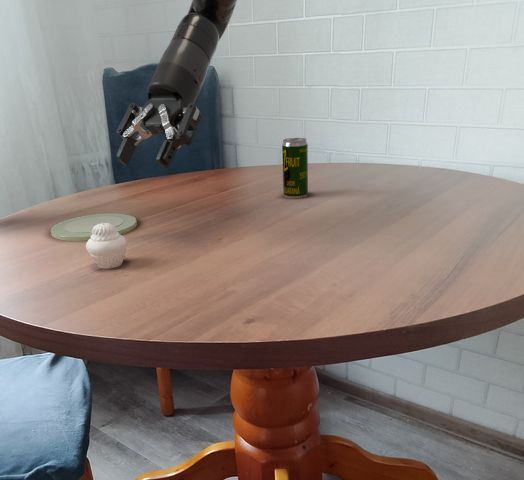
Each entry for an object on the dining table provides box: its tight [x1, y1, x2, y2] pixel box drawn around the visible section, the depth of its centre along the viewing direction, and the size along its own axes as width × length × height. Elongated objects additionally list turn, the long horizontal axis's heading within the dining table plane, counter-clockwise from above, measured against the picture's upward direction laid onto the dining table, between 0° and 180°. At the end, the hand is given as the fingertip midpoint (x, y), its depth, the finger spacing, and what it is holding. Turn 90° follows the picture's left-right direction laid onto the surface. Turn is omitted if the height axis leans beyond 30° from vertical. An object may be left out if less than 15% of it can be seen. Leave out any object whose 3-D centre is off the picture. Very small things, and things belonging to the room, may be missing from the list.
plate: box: [50, 212, 138, 242], centre depth 104 cm, size 16×16×1 cm
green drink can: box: [281, 137, 309, 200], centre depth 116 cm, size 5×5×12 cm
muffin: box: [85, 222, 128, 270], centre depth 83 cm, size 6×6×7 cm
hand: (140, 163), depth 85 cm, fingers open, 8 cm apart
